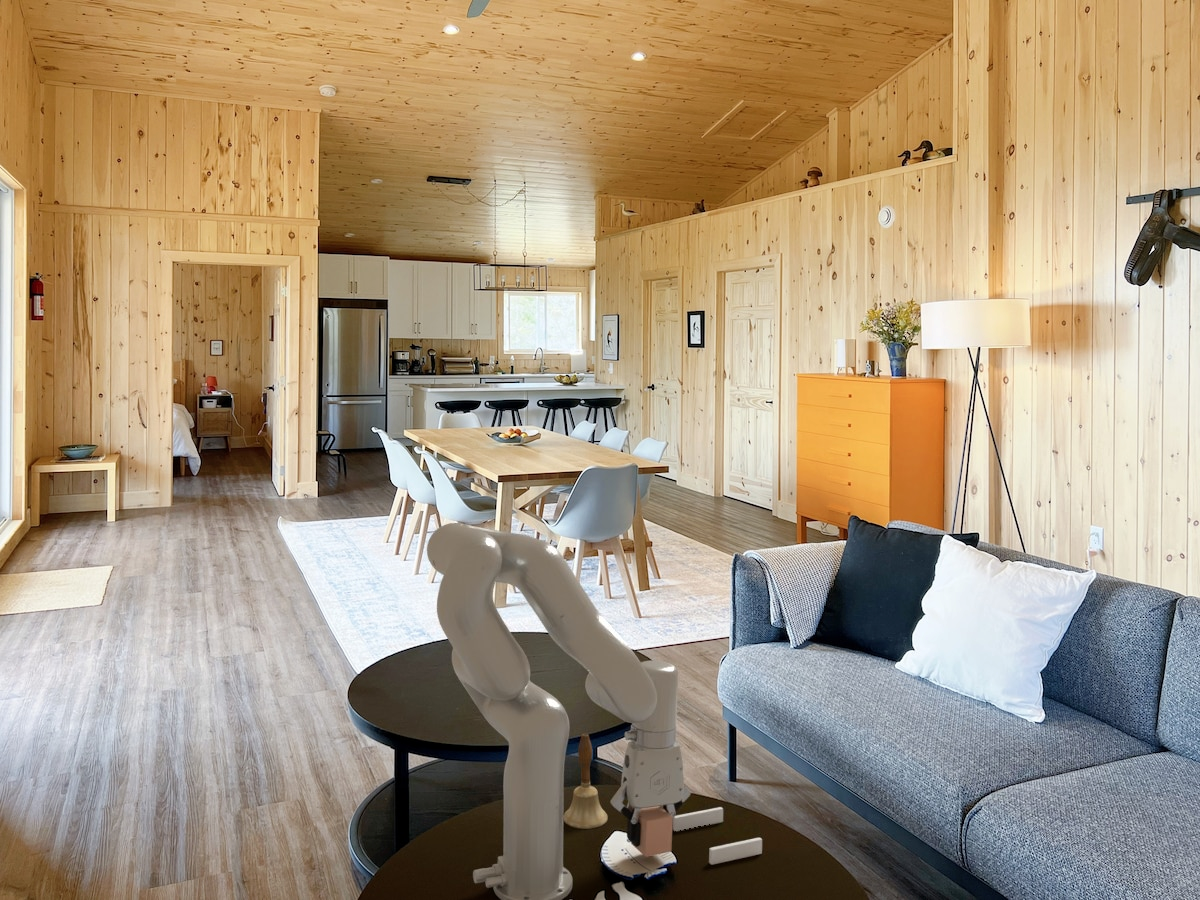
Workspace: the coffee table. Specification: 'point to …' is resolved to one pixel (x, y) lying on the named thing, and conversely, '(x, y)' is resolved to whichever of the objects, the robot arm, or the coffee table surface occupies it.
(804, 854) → the coffee table surface
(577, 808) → the hand bell
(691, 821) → the channel
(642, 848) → the block
